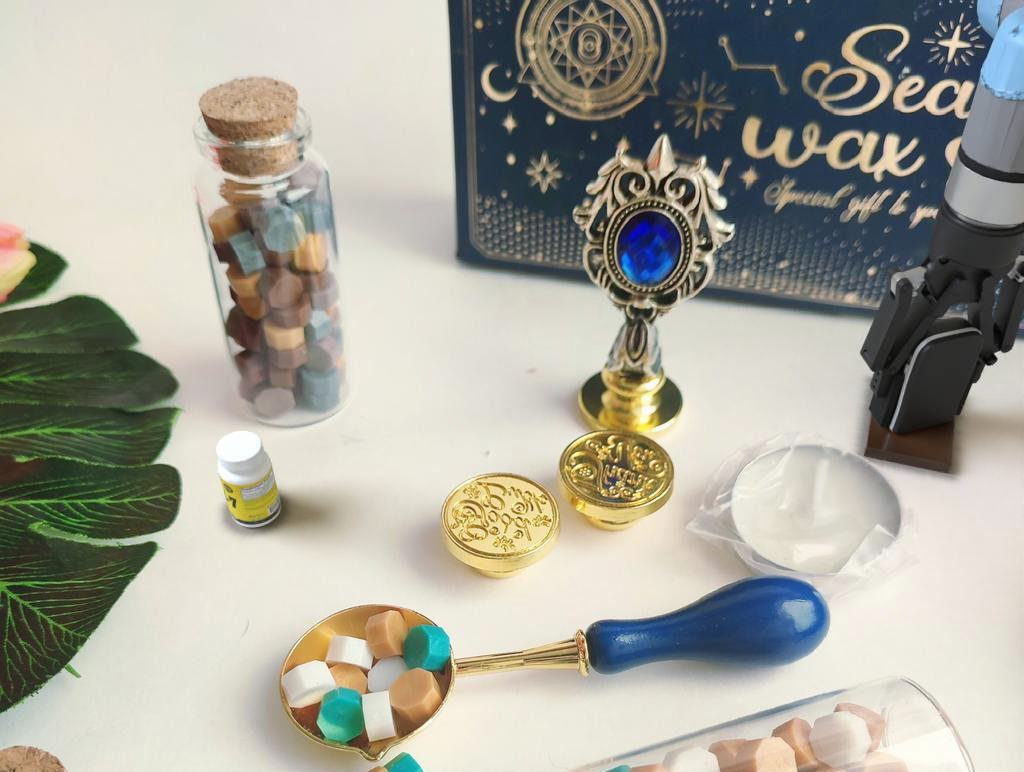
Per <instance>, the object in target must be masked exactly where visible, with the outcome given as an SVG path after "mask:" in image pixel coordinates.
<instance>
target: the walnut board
mask: <svg viewBox="0 0 1024 772" xmlns="http://www.w3.org/2000/svg"><path fill="white" fill-rule="evenodd" d="M873 394H874V393H873V392H872V395H873ZM955 422H956V416H954V419H953V421H951V422H948V423H944V424H941V425H937V426H933V427H929V428H926V429H921V430H917V431H912V432H908V433H903V434H895V433H894V432H892V431H891V430H890V427H889V426H883V427H880V426H879V424H878V423H877V421H876V420H875V418H874V416H873V415H872V413H871V412H870V411H869V417H868V424H867V429H866V431H867V432H866V436H865V444H864V451H863V457H867V458H872V459H877V460H882V461H887V462H891V463H896V464H901V465H906V466H910V467H914V468H920V469H925V470H928V471H934V472H939V473H944V474H949V473H950V470H951V468H952V465H953V456H954V455H953V453H954V440H955V439H954V438H955V425H956V423H955Z"/></svg>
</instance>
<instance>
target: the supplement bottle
mask: <svg viewBox="0 0 1024 772" xmlns="http://www.w3.org/2000/svg"><path fill="white" fill-rule="evenodd" d="M216 455H217V460H218V463H217V472H218V476H219V480H220V483H221V486H222V490H223V493H224V496H225V500H226V503H227V507H228V510H229V513H230V516H231V519H233V521H234V522H235V523H237V524H238V525H240V526H242V527H244V528H245V527H246V528H259V527H263V526H266V525H268V524H270V523H272V522H273V521H274V520H275V519H276V518H277V517H278V516H279V515H280V512H281V510H282V502H281V497H280V493H279V489H278V484H277V480H276V476H275V472H274V467H273V464H272V463H273V462H272V461H271V457H270V455H269V454H268V453H267V451H266V450H265V448H264V444H263V441H262V439H261V437H260V436H259V435H258V434H257V433H254V432H251V431H249V430H238V431H233V432H230V433H228V434H226V435H224V436H223V437H221V439H220V440H219V441H218V443H217V445H216Z"/></svg>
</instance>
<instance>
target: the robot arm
mask: <svg viewBox="0 0 1024 772" xmlns="http://www.w3.org/2000/svg"><path fill="white" fill-rule="evenodd" d="M976 12H977V19H978V20H977V21H978V23H979V24H980V26H981V27H982V29H983V30H984V31H985V32H986V33H987V34H988V35H989V36H990V37H991V38H992V39H993V40H992V43H991V46H990V48H989V51H988V53H987V56H986V58H985V59H984V61H983V64H982V67H981V69H980V75H979V78H978V82H977V86H976V89H975V93H974V96H973V99H972V102H971V106H970V109H969V112H968V115H967V119H966V121H965V122H966V123H965V126H964V129H963V132H962V136H961V139H960V141H959V145H958V148H957V150H956V154H955V157H954V161H953V163H952V167H951V169H950V173H949V175H948V176H949V177H948V178H947V181H946V185H945V188H944V193H943V196H944V197H942V199H941V200H940V203H939V206H938V208H937V212H936V215H935V218H934V221H933V225H932V227H931V230H930V234H929V236H930V237H929V249H928V252H927V253H926V254H925V256H924V257H923V259H922V260H921V261H920V262H919V265H918V266H917V267H914V268H911V269H908V270H905V271H902V269H901V268H900V267H899V266H893V267H892V268H890V269H889V270H888V272H887V275H886V276H887V277H886V290H885V293H884V295H883V298H882V299H881V302H880V304H879V307H878V308H877V311H876V313H875V316H874V318H873V321H872V323H871V325H870V328H869V329H868V332H867V334H866V336H865V339H864V341H863V344H862V346H861V349H860V351H859V355H860V357H861V358H862V360H863V361H864V363H865V364H866V366H867V367H868V368H869V369H870V371H871V372H872V377H871V381H870V384H869V387H870V390H871V391H872V396H871V400H870V403H869V407H868V411H869V413H870V412H871V413H872V415H873V416H874V418H875V420H876V421H877V423H878V424H879V426H880V427H883V426H888V423H889V420H890V417H891V414H892V411H893V408H894V405H895V402H896V399H897V396H898V394H899V391H900V388H901V385H902V382H903V379H904V376H905V374H904V372H903V371H902V370H901V366H902V365H903V364H904V362H905V361H906V359H907V358H908V357H909V355H910V354H911V353H912V351H913V350H914V349H915V347H916V346H917V344H918V343H919V342H920V340H921V339H922V338H923V336H924V335H925V334H926V332H927V331H928V330H929V328H930V327H931V325H932V324H933V323H934V321H937V320H938V319H941V318H943V317H944V316H945V315H946V313H947V312H948V311H949V309H950V308H951V307H953V306H955V305H958V304H966V308H967V309H966V312H967V321H968V322H969V323H970V324H971V325H972V326H973V327H974V328H977V329H978V330H979V331H980V332H981V335H982V336H983V341H984V342H983V347H982V350H981V352H980V355H979V358H978V361H977V363H976V366H975V368H974V371H973V373H972V375H971V378H970V380H969V382H968V384H967V387H966V389H965V391H964V393H963V395H962V398H961V400H960V403H959V405H958V408H957V410H956V413H955V417H956V416H960V415H961V414H962V411H963V409H964V406H965V404H966V401H967V398H968V396H969V394H970V391H971V388H972V387H973V384H977V383H978V381H979V380H980V379H981V377H982V374H983V372H984V369H985V367H986V366H987V367H992V366H993V365H994V364H996V363H997V362H998V359H999V358H998V357H997V356H996V353H999V352H1001V354H1007V353H1010V351H1012V350H1013V348H1014V345H1015V342H1016V340H1017V339H1016V338H1017V335H1018V332H1019V329H1020V325H1021V321H1022V318H1023V316H1024V315H1023V314H1024V249H1023V248H1024V0H977V3H976ZM1000 282H1001V284H1000V288H999V293H998V296H997V300H996V289H995V288H996V287H997V285H998V284H999V283H1000ZM913 299H914V300H913ZM912 300H913V301H912ZM993 308H994V311H993ZM873 393H874V394H873Z"/></svg>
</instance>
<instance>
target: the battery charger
mask: <svg viewBox="0 0 1024 772" xmlns="http://www.w3.org/2000/svg"><path fill="white" fill-rule="evenodd" d="M983 342H984V341H983V336H982V335H981V332H980V331H979V330H978V329H977V328H974V327H973V326H972V325H971V324H970V323H969V322H968V319H966V318H964V317H960V316H954V317H949V318H943V319H939V320H938V319H937V320H935V321H934V323H933V324H932V325H931V327H930V328H929V330H928V331H927V332H926V334H925V335H924V336H923V338H922V339H921V340H920V342H919V343H918V344H917V346H916V347H915V349H914V350H913V351H912V353H911V354H910V355H909V357H908V358H907V359H906V361H905V362H904V364H903V365H902V366H901V370H902V371H903V372H904V374H905V376H904V379H903V382H902V385H901V388H900V391H899V394H898V396H897V399H896V402H895V405H894V408H893V411H892V414H891V417H890V420H889V423H888V426H889V427H890V430H891V431H892V432H894V433H895V434H903V433H908V432H912V431H917V430H921V429H926V428H929V427H933V426H937V425H941V424H944V423H948V422H951V421H953V419H954V416H955V413H956V410H957V408H958V405H959V403H960V400H961V398H962V395H963V393H964V391H965V389H966V387H967V384H968V382H969V380H970V378H971V375H972V373H973V371H974V368H975V366H976V363H977V361H978V358H979V355H980V352H981V350H982V347H983ZM955 417H956V416H955Z"/></svg>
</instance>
